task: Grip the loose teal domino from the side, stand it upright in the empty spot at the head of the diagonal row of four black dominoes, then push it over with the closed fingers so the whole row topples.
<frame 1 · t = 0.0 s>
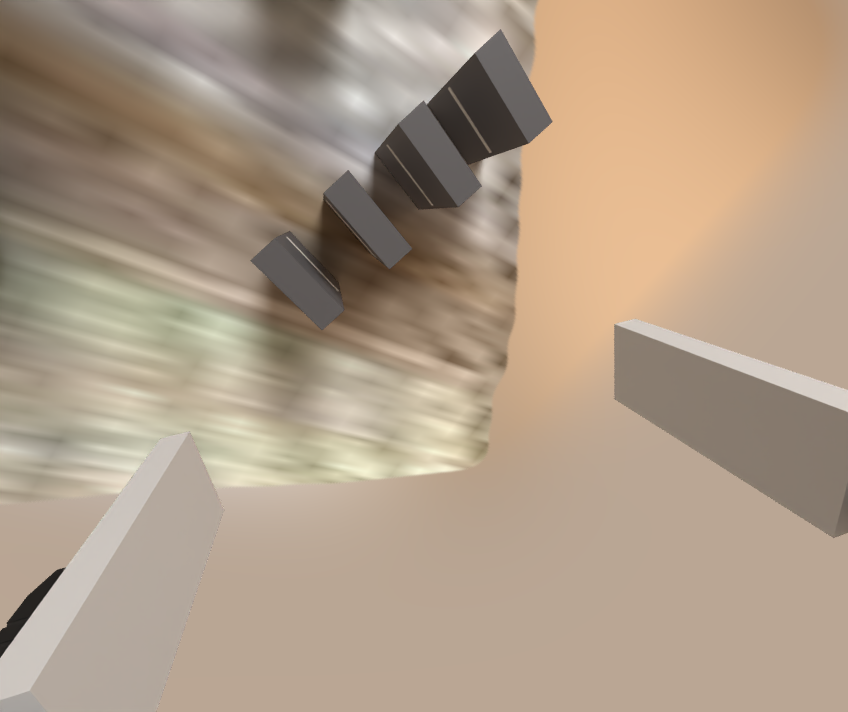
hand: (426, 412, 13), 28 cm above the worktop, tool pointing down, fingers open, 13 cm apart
black tile c: (355, 219, 37), on the worktop
black tile a: (456, 127, 36), on the worktop
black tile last: (306, 264, 37), on the worktop
black tile b: (405, 174, 36), on the worktop
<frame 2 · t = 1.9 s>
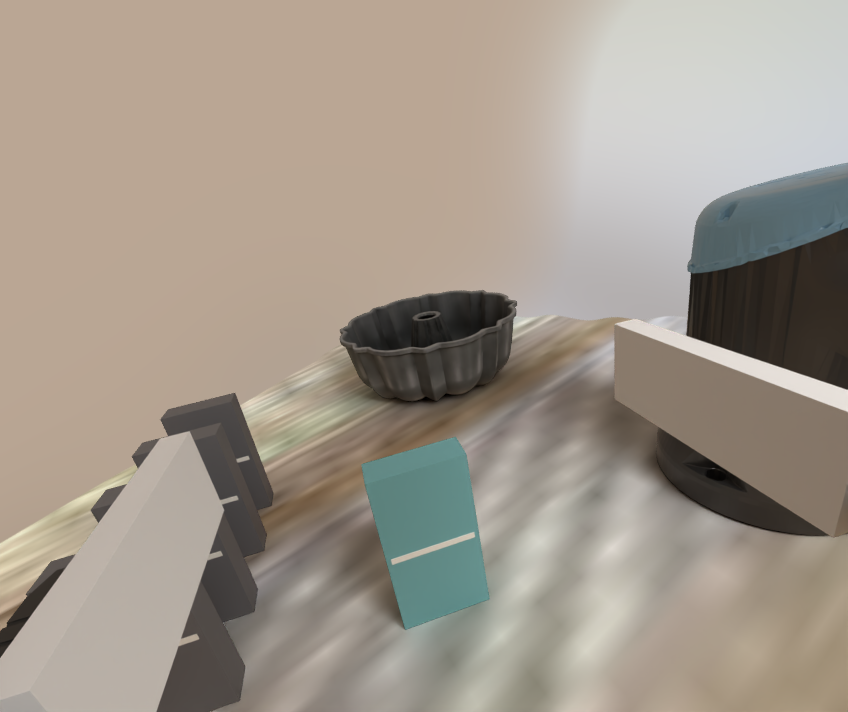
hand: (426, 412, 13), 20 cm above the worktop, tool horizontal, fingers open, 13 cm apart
teal tile: (443, 601, 28), on the worktop
black tile c: (230, 552, 36), on the worktop
bundt pan: (437, 376, 64), on the worktop
black tile a: (192, 700, 25), on the worktop
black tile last: (242, 508, 42), on the worktop
black tile b: (215, 613, 31), on the worktop
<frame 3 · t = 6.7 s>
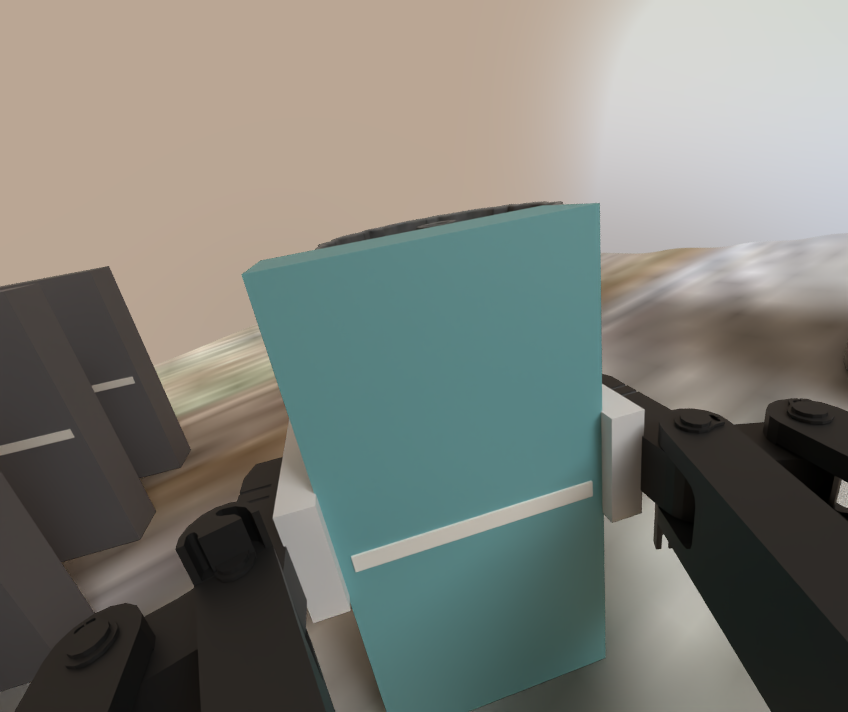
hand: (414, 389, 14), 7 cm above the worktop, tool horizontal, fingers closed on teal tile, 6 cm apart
teal tile: (490, 659, 12), on the worktop, touching gripper
black tile c: (82, 543, 20), on the worktop
bundt pan: (450, 312, 48), on the worktop
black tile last: (135, 471, 25), on the worktop
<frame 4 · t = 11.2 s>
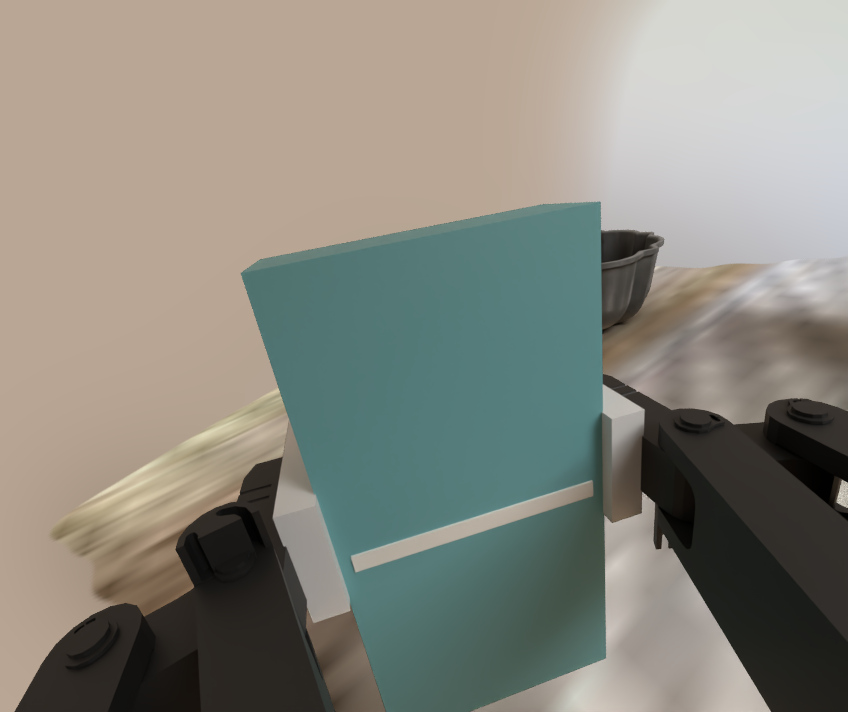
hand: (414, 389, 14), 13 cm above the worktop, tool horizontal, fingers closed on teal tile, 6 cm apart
teal tile: (491, 659, 12), point 7 cm above the worktop, touching gripper
bundt pan: (555, 320, 59), on the worktop
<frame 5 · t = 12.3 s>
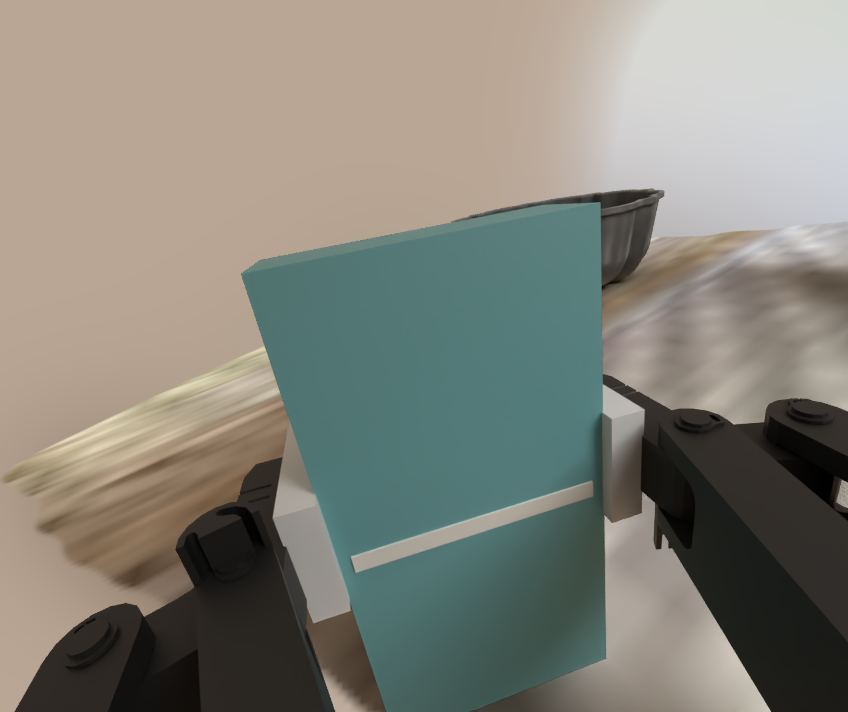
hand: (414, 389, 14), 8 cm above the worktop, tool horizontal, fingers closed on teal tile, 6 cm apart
teal tile: (491, 660, 12), point 1 cm above the worktop, touching gripper
bundt pan: (551, 283, 57), on the worktop
when the fingers open (7 cm above the worktop, at t = 12.7 s): teal tile stays where it is, on the worktop.
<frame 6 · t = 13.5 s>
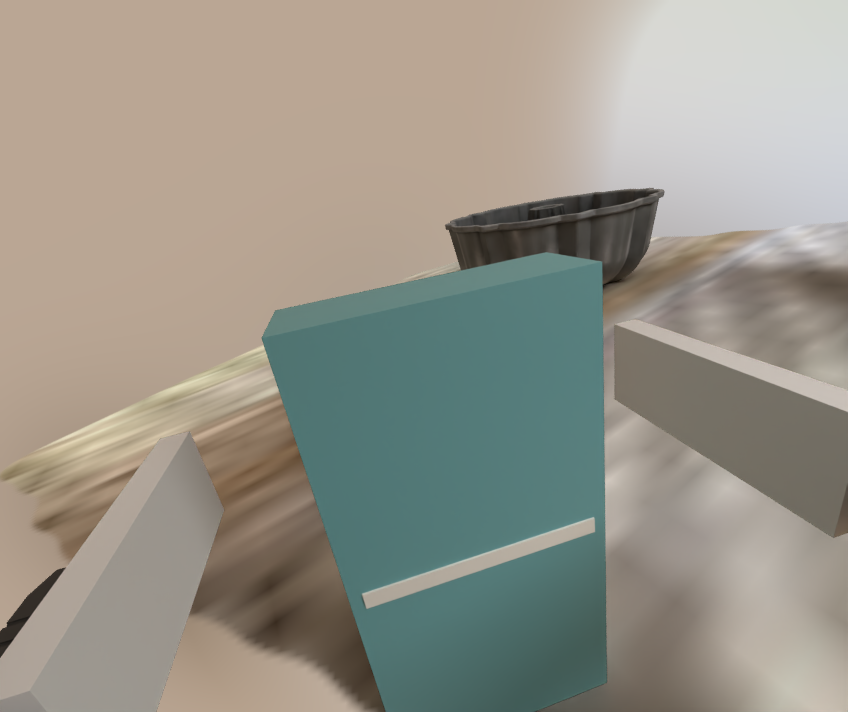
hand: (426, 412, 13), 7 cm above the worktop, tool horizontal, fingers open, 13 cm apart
teal tile: (495, 683, 12), on the worktop
bundt pan: (550, 282, 57), on the worktop
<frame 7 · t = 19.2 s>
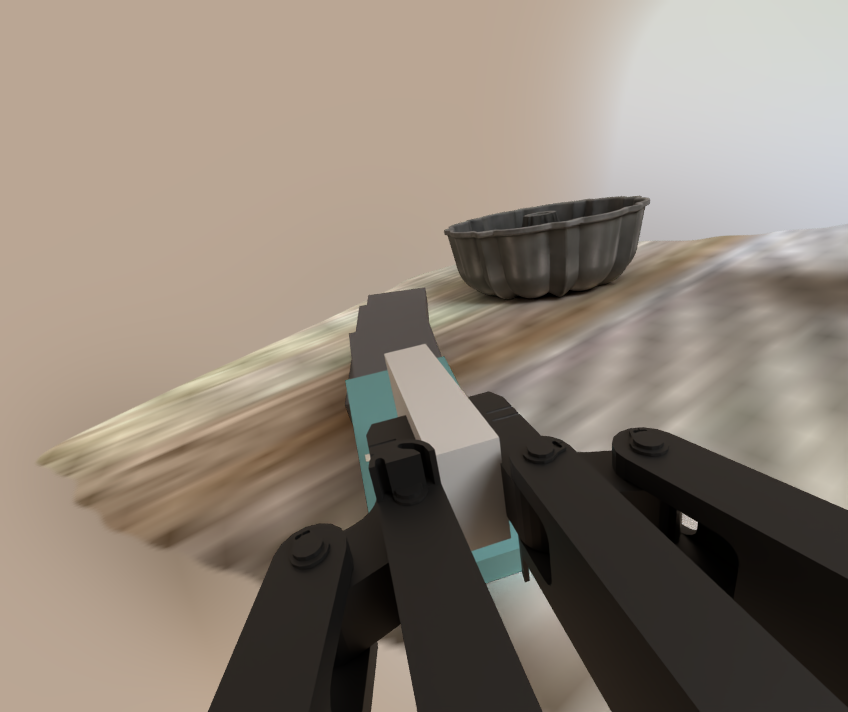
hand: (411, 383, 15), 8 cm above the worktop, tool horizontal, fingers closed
teal tile: (464, 578, 15), point 1 cm above the worktop, tilted 73°, touching black tile a
black tile c: (396, 376, 34), point 1 cm above the worktop, tilted 71°, touching black tile b, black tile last
bundt pan: (544, 285, 59), on the worktop
black tile a: (421, 465, 23), point 1 cm above the worktop, tilted 70°, touching black tile b, teal tile
black tile b: (390, 409, 29), point 1 cm above the worktop, tilted 70°, touching black tile a, black tile c
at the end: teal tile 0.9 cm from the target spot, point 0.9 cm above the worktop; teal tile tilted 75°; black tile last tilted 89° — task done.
